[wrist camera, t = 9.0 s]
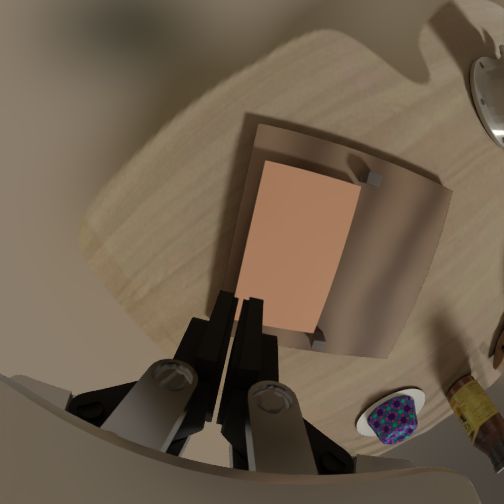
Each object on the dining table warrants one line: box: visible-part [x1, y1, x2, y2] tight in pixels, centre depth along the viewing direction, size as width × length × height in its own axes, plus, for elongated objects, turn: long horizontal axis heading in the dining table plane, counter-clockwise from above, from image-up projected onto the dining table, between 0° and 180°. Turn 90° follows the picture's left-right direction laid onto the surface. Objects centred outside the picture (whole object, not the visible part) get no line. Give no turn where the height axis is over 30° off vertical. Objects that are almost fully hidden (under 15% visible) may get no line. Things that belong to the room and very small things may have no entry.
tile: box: [234, 160, 361, 333], centre depth 23 cm, size 8×14×1 cm, turn 167°
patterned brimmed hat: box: [357, 389, 425, 445], centre depth 30 cm, size 12×12×5 cm
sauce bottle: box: [447, 375, 504, 473], centre depth 22 cm, size 6×6×20 cm
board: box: [223, 123, 453, 359], centre depth 23 cm, size 20×20×3 cm
